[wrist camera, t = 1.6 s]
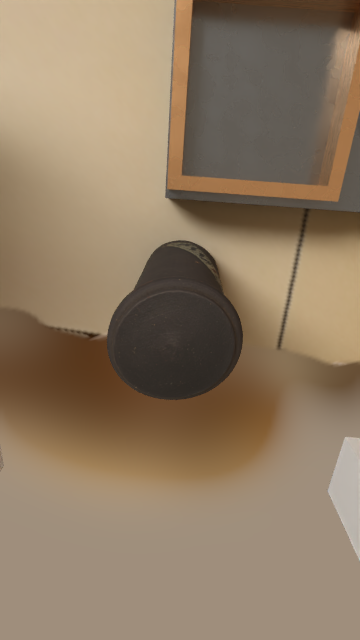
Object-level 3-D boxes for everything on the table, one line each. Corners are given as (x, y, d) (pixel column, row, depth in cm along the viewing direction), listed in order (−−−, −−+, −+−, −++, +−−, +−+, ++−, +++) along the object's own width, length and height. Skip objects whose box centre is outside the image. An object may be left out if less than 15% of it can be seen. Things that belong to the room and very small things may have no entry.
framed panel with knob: (167, 197, 35) (163, 198, 29) (178, -5, 29) (175, -58, 23) (385, 213, 35) (427, 217, 29) (444, 14, 29) (511, -33, 23)
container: (225, 298, 39) (258, 393, 21) (156, 316, 40) (127, 422, 22) (208, 227, 36) (228, 264, 18) (133, 249, 37) (77, 306, 19)
